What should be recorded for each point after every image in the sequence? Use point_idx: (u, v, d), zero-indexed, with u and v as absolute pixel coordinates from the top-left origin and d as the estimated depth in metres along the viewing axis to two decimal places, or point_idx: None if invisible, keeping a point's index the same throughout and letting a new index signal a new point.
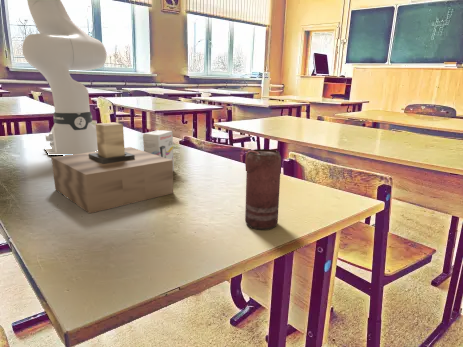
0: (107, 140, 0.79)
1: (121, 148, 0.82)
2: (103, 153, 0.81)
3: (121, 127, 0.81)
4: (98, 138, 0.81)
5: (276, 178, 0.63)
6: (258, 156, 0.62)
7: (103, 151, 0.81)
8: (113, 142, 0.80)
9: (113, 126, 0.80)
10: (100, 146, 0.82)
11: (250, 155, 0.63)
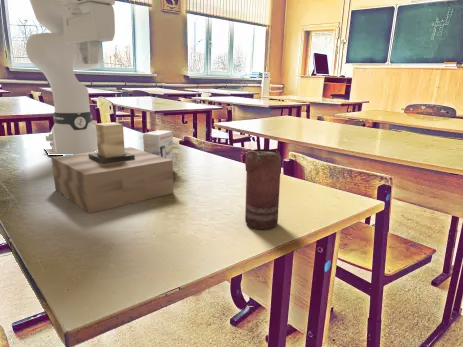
0: (107, 140, 0.79)
1: (121, 148, 0.82)
2: (103, 153, 0.81)
3: (121, 127, 0.81)
4: (98, 138, 0.81)
5: (276, 178, 0.63)
6: (258, 156, 0.62)
7: (103, 151, 0.81)
8: (113, 142, 0.80)
9: (113, 126, 0.80)
10: (100, 146, 0.82)
11: (250, 155, 0.63)
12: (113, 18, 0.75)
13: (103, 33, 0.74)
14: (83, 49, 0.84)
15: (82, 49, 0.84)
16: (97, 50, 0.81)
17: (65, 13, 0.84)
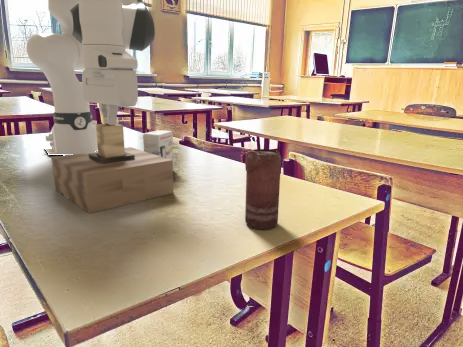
0: (107, 141, 0.79)
1: (121, 149, 0.82)
2: (103, 154, 0.81)
3: (121, 128, 0.81)
4: (98, 139, 0.81)
5: (276, 178, 0.63)
6: (258, 156, 0.62)
7: (103, 152, 0.81)
8: (113, 143, 0.80)
9: (113, 127, 0.80)
10: (100, 147, 0.82)
11: (250, 155, 0.63)
12: (136, 84, 0.73)
13: (126, 100, 0.72)
14: (105, 109, 0.81)
15: (104, 109, 0.81)
16: (116, 112, 0.79)
17: (84, 72, 0.82)
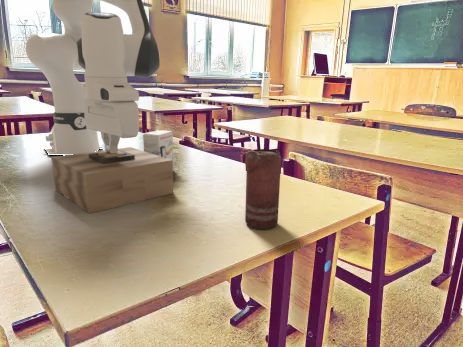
0: None
1: None
2: None
3: None
4: None
5: (276, 178, 0.63)
6: (258, 156, 0.62)
7: None
8: None
9: (115, 155, 0.81)
10: None
11: (250, 155, 0.63)
12: (137, 116, 0.75)
13: (127, 132, 0.74)
14: (107, 137, 0.83)
15: (106, 137, 0.83)
16: (117, 141, 0.81)
17: (87, 100, 0.84)
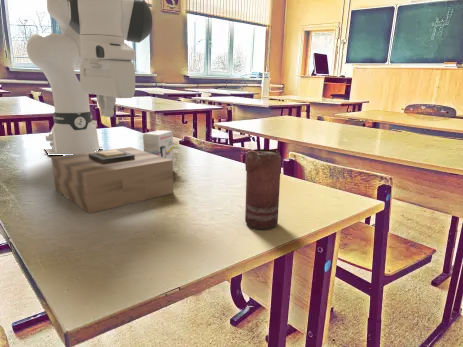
0: None
1: None
2: None
3: None
4: None
5: (276, 178, 0.63)
6: (258, 156, 0.62)
7: None
8: None
9: (115, 155, 0.81)
10: None
11: (250, 155, 0.63)
12: (134, 75, 0.73)
13: (123, 92, 0.72)
14: (102, 100, 0.81)
15: (101, 101, 0.81)
16: (113, 104, 0.79)
17: (82, 62, 0.81)
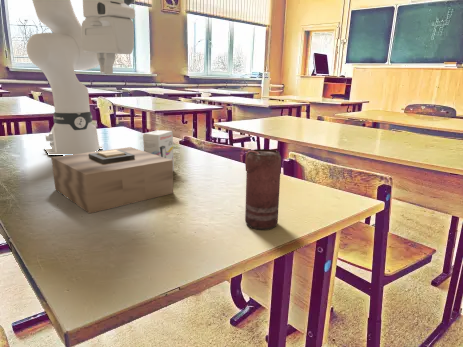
0: None
1: None
2: None
3: None
4: None
5: (276, 178, 0.63)
6: (258, 156, 0.62)
7: None
8: None
9: (115, 155, 0.81)
10: None
11: (250, 155, 0.63)
12: (132, 32, 0.77)
13: (122, 47, 0.76)
14: (102, 59, 0.85)
15: (101, 59, 0.85)
16: (112, 61, 0.83)
17: (84, 22, 0.86)
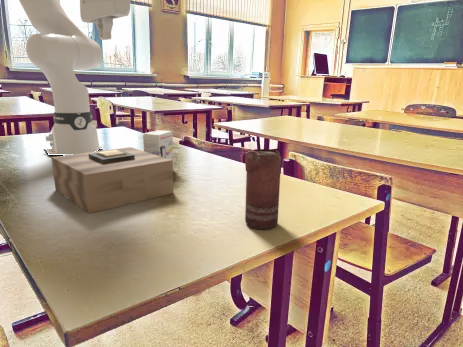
0: None
1: None
2: None
3: None
4: None
5: (276, 178, 0.63)
6: (258, 156, 0.62)
7: None
8: None
9: (115, 155, 0.81)
10: None
11: (250, 155, 0.63)
12: None
13: (119, 8, 0.79)
14: (101, 25, 0.89)
15: (100, 25, 0.89)
16: (111, 26, 0.87)
17: None
